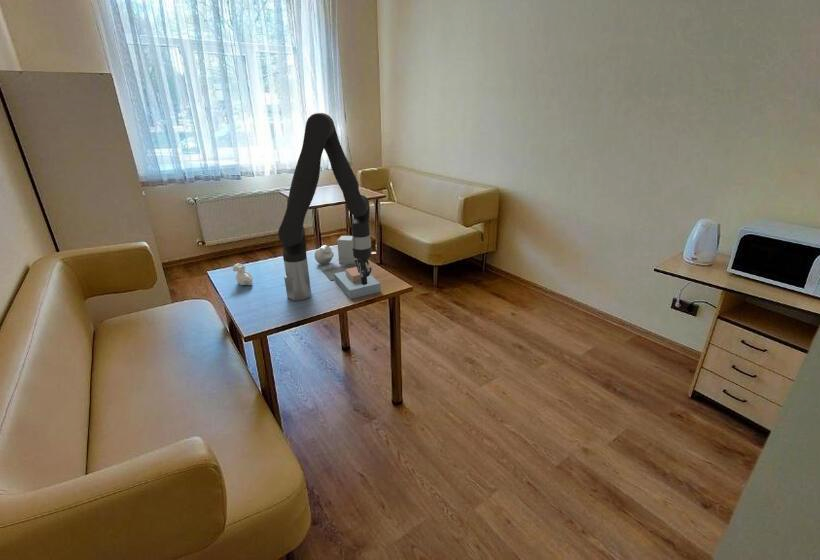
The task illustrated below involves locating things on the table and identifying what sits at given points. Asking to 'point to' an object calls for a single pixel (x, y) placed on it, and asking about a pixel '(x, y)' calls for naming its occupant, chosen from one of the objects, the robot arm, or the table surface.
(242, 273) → the duck figurine
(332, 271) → the mat
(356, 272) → the tan rectangular block
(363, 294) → the block
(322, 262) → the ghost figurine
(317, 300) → the table surface
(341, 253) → the supplement box
